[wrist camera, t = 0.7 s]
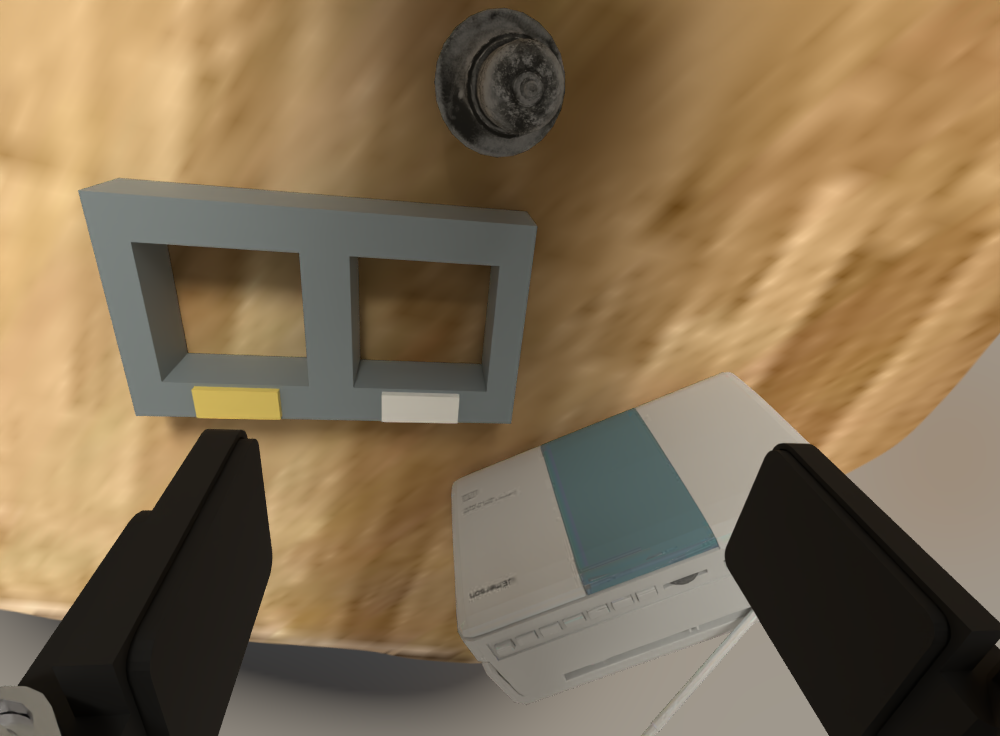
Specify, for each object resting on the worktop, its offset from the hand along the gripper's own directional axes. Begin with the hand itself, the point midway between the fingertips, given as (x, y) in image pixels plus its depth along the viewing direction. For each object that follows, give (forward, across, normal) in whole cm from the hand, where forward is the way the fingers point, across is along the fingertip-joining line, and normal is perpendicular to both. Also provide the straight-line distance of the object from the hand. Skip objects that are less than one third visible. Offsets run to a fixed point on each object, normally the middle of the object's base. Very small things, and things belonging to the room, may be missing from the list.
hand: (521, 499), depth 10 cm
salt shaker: (+23, -1, -7) cm, 24 cm away
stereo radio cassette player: (+23, -11, +16) cm, 30 cm away
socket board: (+23, +7, +5) cm, 24 cm away
